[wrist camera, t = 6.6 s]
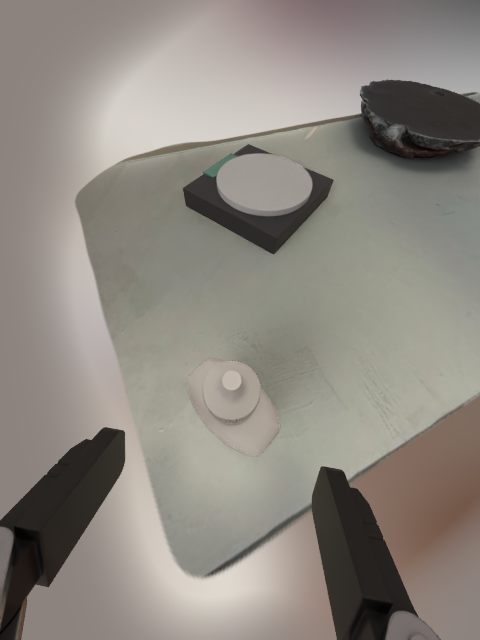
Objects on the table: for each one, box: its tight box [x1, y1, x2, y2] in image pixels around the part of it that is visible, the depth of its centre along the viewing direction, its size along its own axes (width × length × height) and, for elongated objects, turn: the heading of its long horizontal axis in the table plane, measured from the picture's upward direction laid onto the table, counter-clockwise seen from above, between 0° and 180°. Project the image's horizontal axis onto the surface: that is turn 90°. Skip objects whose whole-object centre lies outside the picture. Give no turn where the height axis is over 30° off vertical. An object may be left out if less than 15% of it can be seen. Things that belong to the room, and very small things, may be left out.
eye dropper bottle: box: [186, 358, 280, 456], centre depth 13 cm, size 4×6×12 cm
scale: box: [183, 144, 333, 254], centre depth 31 cm, size 14×14×3 cm
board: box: [360, 80, 480, 157], centre depth 39 cm, size 22×22×5 cm
